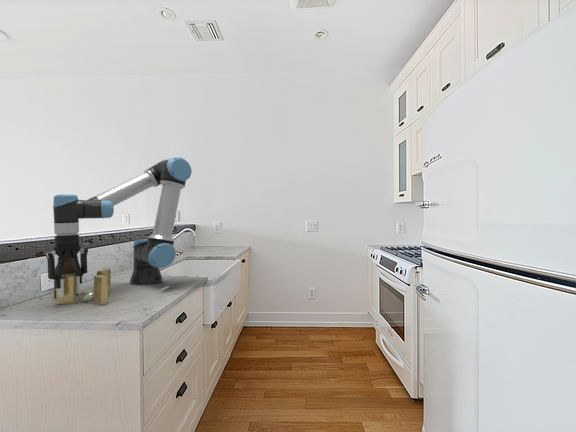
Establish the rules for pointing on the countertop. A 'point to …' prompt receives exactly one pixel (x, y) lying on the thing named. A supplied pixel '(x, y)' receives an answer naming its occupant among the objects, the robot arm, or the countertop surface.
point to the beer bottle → (66, 272)
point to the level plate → (87, 296)
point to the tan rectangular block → (67, 290)
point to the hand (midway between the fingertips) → (69, 294)
